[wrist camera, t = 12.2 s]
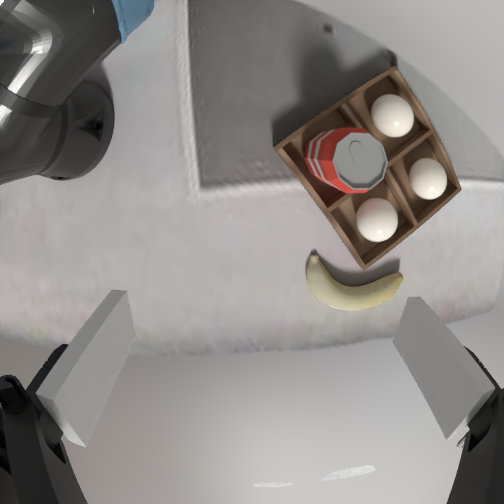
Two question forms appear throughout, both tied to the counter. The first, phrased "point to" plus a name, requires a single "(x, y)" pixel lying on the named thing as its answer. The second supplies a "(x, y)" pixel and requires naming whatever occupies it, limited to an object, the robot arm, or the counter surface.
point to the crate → (396, 175)
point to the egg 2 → (376, 219)
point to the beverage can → (346, 159)
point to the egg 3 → (427, 178)
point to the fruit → (349, 288)
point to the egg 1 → (392, 115)
